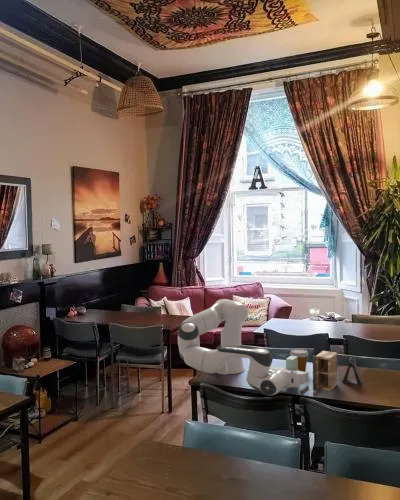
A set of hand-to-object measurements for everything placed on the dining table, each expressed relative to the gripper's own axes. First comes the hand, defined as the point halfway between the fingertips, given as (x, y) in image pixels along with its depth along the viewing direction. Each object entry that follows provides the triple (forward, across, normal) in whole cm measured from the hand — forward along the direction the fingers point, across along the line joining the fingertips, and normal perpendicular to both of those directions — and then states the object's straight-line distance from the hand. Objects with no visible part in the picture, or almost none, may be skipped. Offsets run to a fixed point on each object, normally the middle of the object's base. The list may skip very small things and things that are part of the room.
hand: (292, 369), depth 226 cm
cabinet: (+1, +13, -8) cm, 15 cm away
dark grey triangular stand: (+19, +24, -8) cm, 32 cm away
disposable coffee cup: (+19, -4, -8) cm, 21 cm away
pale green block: (-1, 0, -8) cm, 8 cm away
